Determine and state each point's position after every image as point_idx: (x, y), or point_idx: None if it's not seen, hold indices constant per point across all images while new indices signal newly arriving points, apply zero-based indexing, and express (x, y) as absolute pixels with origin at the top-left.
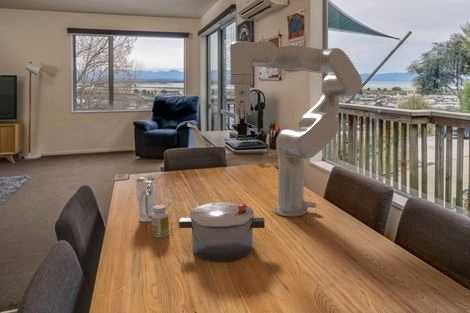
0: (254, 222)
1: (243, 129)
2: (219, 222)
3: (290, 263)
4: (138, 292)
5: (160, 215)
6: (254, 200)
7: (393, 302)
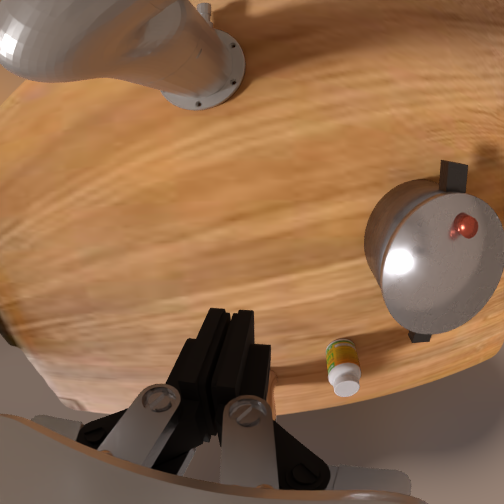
0: (464, 188)
1: (267, 372)
2: (498, 272)
3: (477, 123)
4: (492, 329)
5: (359, 375)
6: (120, 167)
7: None
